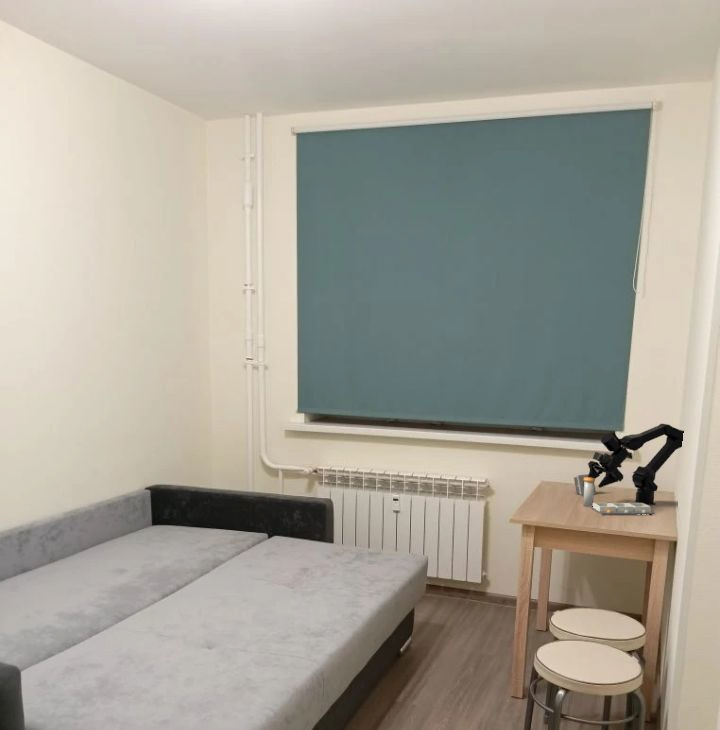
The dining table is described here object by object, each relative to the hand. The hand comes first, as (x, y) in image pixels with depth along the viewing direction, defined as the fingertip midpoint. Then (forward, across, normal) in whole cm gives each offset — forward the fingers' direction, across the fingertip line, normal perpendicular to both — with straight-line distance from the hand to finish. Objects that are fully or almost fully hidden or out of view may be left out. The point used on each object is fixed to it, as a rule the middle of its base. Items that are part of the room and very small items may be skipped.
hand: (592, 484), depth 285 cm
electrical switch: (0, -21, +14) cm, 25 cm away
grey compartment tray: (+2, +12, +11) cm, 16 cm away
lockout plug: (+8, 0, +5) cm, 9 cm away
